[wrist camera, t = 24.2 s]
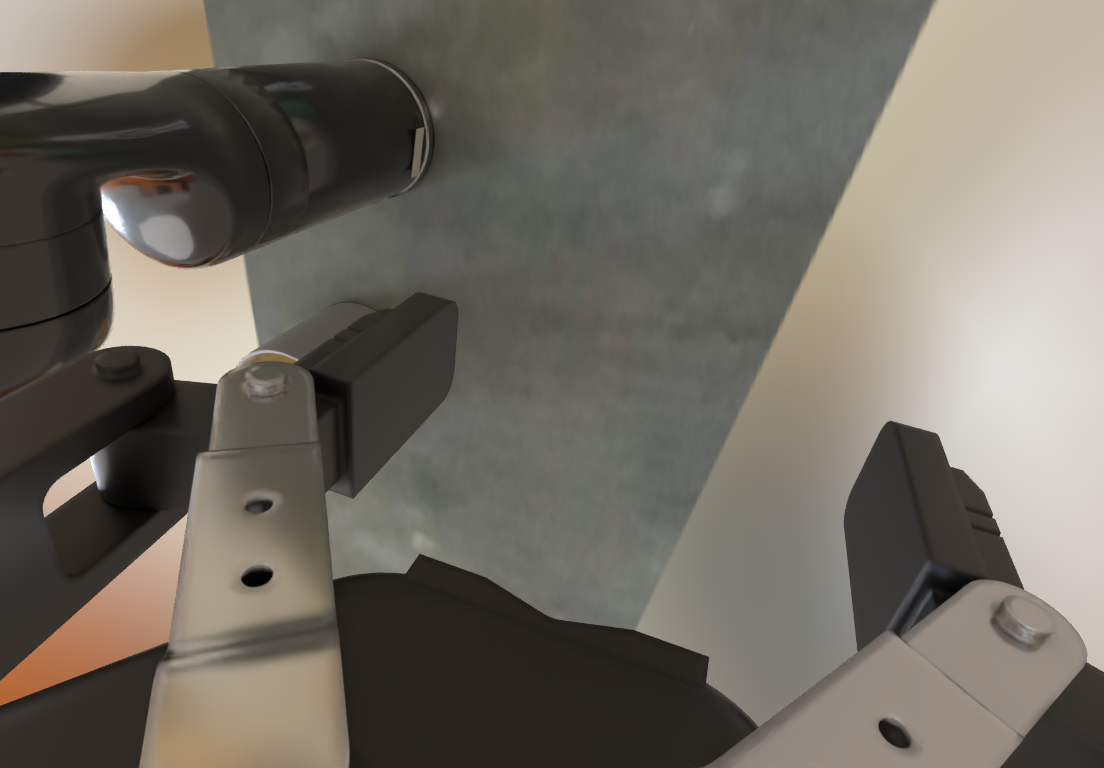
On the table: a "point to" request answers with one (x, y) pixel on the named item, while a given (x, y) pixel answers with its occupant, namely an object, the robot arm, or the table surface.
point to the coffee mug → (308, 334)
